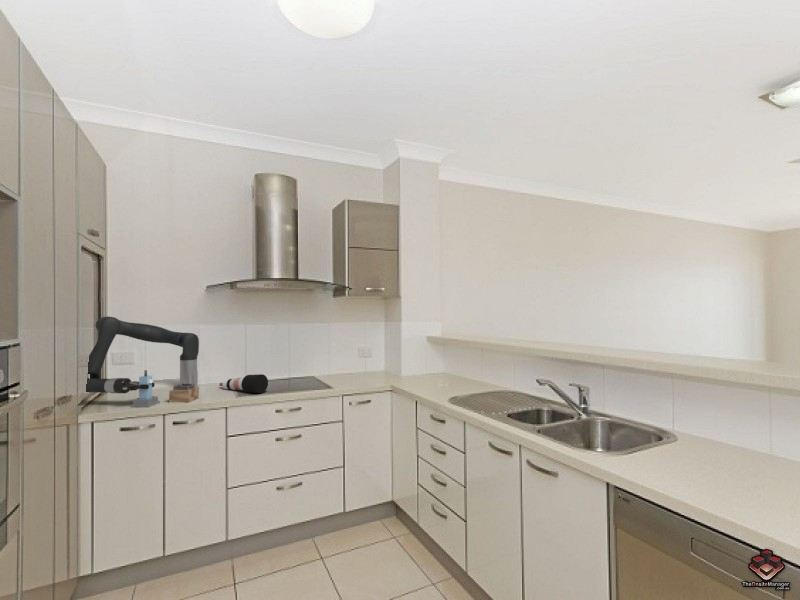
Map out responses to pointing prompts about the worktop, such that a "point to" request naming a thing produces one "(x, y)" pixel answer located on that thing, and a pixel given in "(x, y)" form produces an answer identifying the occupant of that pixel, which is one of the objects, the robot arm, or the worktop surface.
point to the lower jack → (145, 402)
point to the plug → (145, 392)
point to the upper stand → (184, 393)
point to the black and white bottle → (247, 383)
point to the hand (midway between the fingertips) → (151, 385)
